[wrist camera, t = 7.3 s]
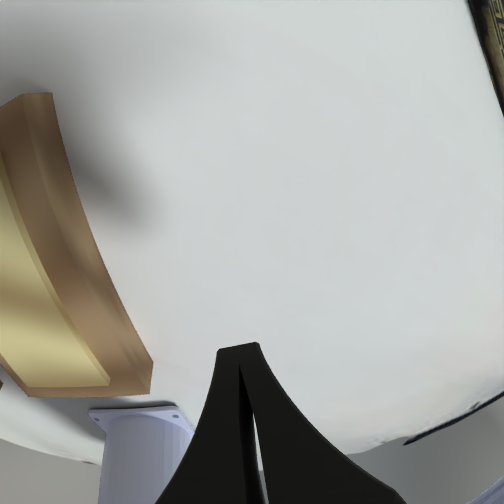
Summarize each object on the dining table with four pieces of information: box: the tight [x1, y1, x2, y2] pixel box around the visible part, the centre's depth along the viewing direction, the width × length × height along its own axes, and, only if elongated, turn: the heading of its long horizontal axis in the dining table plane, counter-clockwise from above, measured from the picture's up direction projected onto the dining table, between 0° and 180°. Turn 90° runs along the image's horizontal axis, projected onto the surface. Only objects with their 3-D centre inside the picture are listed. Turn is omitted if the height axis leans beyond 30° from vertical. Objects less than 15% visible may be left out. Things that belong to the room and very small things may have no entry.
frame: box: [0, 93, 153, 398], centre depth 12 cm, size 16×10×4 cm, turn 9°
